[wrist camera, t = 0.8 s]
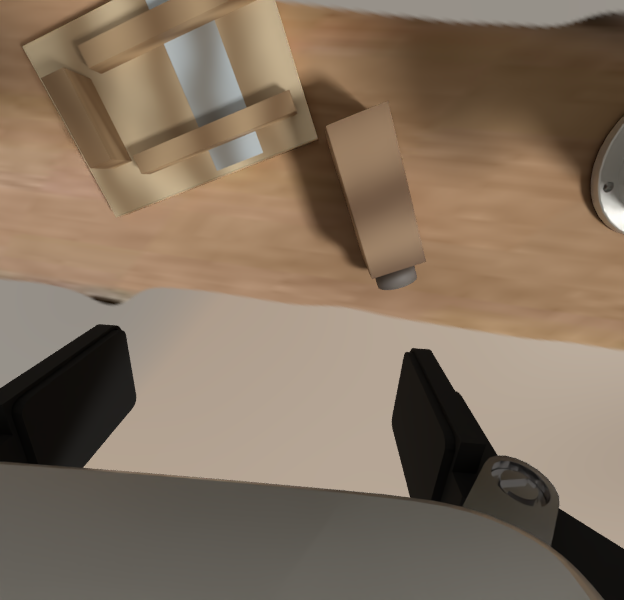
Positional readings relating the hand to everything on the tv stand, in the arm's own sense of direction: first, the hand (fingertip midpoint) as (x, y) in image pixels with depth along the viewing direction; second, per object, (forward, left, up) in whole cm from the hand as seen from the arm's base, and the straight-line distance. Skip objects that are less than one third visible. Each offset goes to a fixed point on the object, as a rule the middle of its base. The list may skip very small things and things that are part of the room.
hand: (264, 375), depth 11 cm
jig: (+6, -15, -22) cm, 28 cm away
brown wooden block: (-7, -2, -23) cm, 24 cm away
